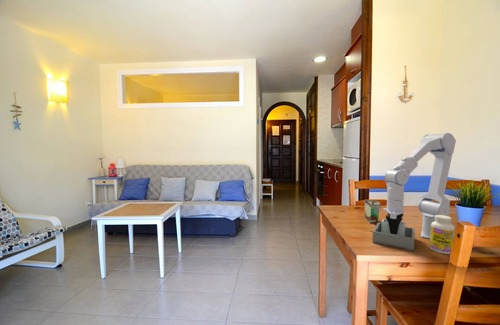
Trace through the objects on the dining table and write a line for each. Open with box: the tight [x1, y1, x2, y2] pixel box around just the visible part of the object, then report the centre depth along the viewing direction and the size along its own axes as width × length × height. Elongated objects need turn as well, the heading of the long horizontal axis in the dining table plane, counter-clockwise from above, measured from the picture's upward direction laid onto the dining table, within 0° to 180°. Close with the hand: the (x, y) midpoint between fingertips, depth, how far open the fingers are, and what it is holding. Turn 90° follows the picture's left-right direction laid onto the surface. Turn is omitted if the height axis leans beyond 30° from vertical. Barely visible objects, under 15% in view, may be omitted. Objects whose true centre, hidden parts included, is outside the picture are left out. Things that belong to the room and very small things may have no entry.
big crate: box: [372, 222, 416, 252], centre depth 95 cm, size 14×15×4 cm
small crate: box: [381, 218, 406, 237], centre depth 95 cm, size 8×5×6 cm, turn 54°
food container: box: [363, 199, 382, 225], centre depth 121 cm, size 12×6×10 cm, turn 168°
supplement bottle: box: [429, 215, 455, 255], centre depth 85 cm, size 7×7×13 cm
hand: (394, 232), depth 95 cm, fingers closed on small crate, 5 cm apart
